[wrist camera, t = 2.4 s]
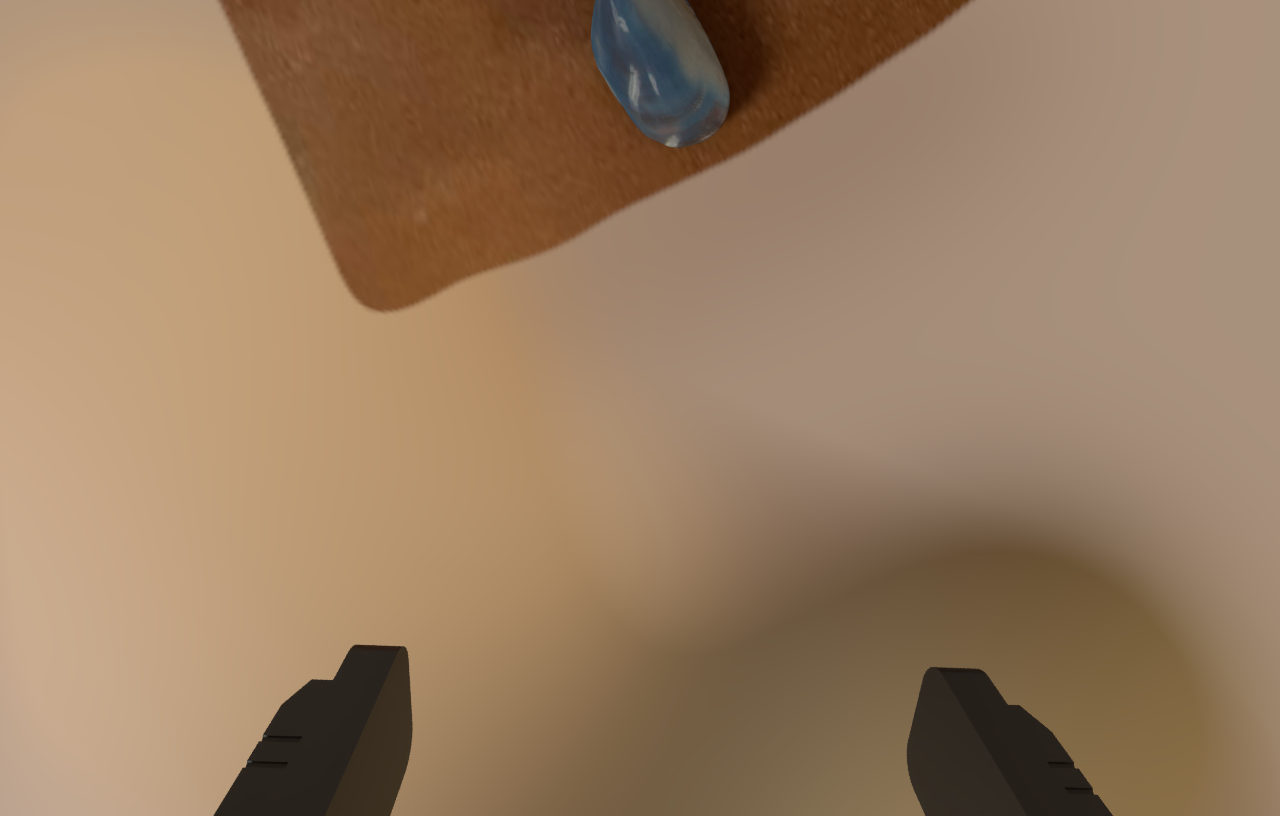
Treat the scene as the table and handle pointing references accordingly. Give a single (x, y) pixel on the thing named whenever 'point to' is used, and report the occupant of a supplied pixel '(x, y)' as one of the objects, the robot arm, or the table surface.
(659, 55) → the blue rounded lump
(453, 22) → the table surface
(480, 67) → the table surface
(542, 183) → the table surface
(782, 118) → the table surface
